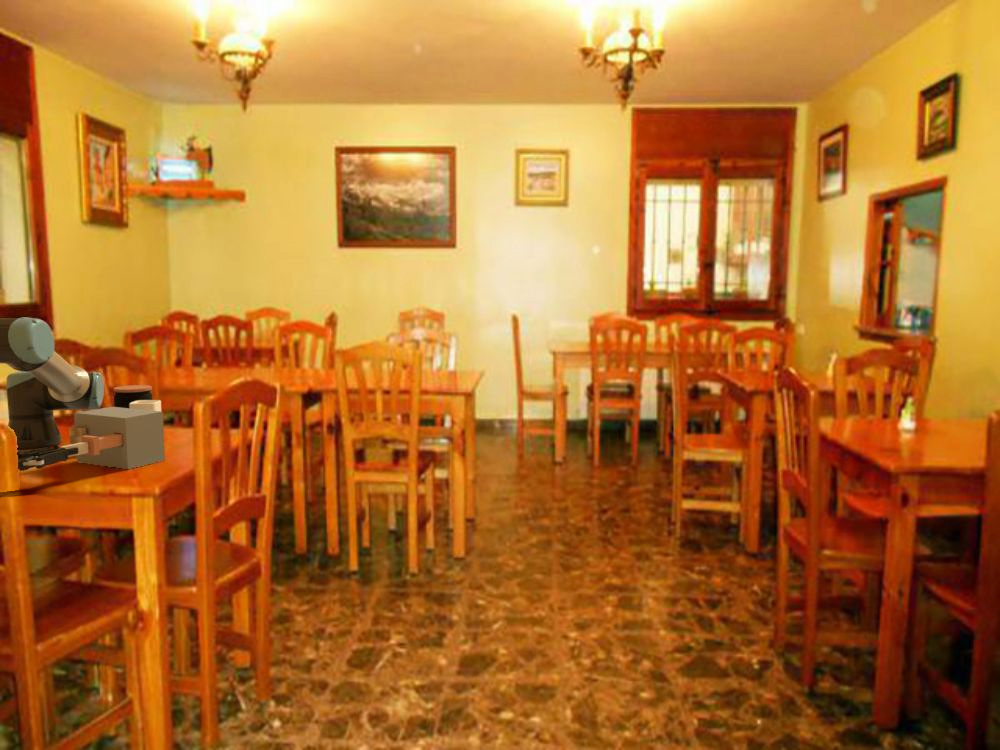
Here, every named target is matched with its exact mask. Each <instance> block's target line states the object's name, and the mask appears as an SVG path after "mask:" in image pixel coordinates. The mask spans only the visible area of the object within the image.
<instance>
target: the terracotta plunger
mask: <svg viewBox="0 0 1000 750" xmlns="http://www.w3.org/2000/svg"><path fill="white" fill-rule="evenodd" d="M81 442H88V453H85V454H87V455H99V454H100V452H99V450H102V449H107V448H111V447H116V446H121V445H123V434H120V433H117V434H112V435H107V436H101V437H97V436H88V435H85V436H81Z"/></svg>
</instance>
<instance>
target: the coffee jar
mask: <svg viewBox="0 0 1000 750" xmlns="http://www.w3.org/2000/svg"><path fill="white" fill-rule="evenodd" d="M152 389H153V386H152V385H147V384H145V385H144V384H139V385H138V384H134V385H133V384H132V385H122V386H116V387H114V388H113V392H114V393H115V394H114V395H113V407H120V408H129V403H131V402H134V401H138V400H153V394H152V393H151V392H152Z"/></svg>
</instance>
